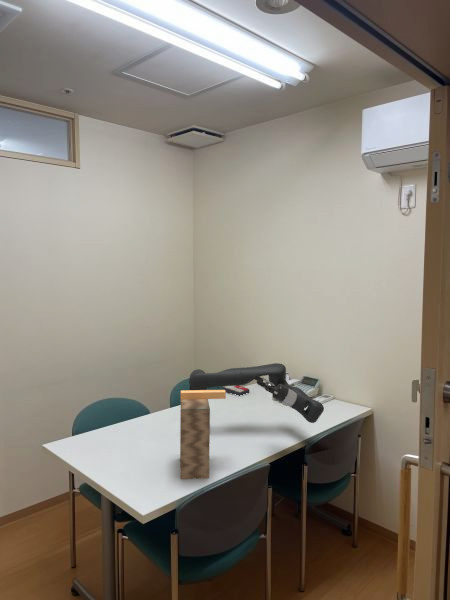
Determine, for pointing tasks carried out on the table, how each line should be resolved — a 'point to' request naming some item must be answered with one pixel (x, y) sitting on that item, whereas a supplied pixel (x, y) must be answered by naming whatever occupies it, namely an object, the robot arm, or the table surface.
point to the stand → (194, 438)
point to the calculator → (236, 390)
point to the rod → (203, 394)
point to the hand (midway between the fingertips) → (255, 378)
